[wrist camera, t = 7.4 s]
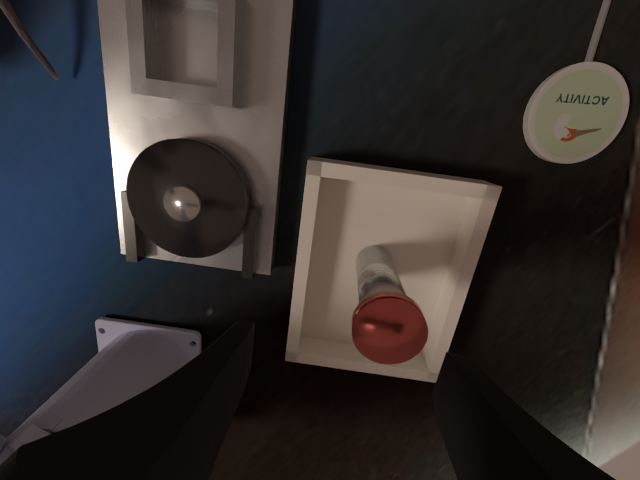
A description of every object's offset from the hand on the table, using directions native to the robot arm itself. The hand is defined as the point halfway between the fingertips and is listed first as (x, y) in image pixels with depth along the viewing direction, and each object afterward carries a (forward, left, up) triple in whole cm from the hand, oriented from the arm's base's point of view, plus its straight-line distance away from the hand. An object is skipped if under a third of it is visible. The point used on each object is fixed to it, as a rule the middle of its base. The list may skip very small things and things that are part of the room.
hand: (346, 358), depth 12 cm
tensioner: (+6, +10, -10) cm, 15 cm away
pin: (0, -2, -10) cm, 10 cm away
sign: (+15, -11, -11) cm, 22 cm away
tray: (-1, -2, -10) cm, 10 cm away
